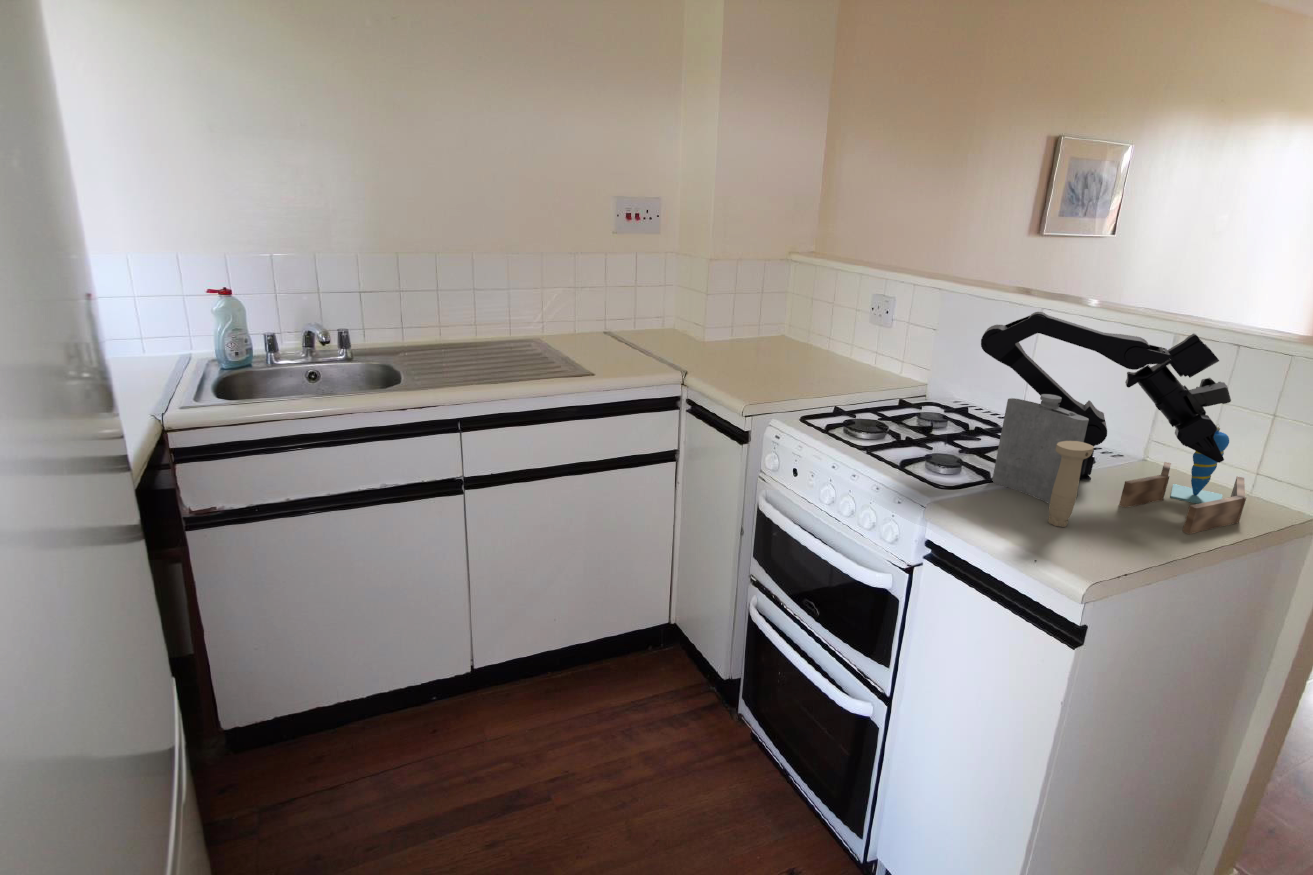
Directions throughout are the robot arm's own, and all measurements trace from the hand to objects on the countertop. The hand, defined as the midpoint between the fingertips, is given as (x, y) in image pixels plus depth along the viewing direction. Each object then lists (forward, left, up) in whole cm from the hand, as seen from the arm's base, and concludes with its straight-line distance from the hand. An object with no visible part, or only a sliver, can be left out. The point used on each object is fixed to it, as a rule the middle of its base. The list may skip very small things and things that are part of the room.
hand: (1217, 454), depth 149 cm
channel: (-7, -7, -9) cm, 13 cm away
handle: (-35, -20, -10) cm, 41 cm away
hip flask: (-35, -5, -10) cm, 36 cm away
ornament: (-2, 0, -9) cm, 9 cm away
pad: (-1, 0, -9) cm, 9 cm away
